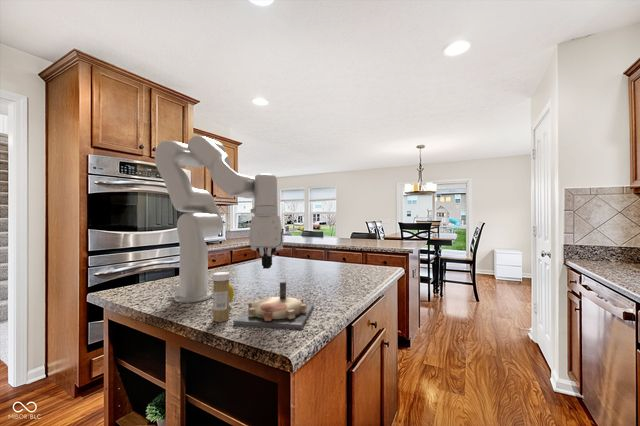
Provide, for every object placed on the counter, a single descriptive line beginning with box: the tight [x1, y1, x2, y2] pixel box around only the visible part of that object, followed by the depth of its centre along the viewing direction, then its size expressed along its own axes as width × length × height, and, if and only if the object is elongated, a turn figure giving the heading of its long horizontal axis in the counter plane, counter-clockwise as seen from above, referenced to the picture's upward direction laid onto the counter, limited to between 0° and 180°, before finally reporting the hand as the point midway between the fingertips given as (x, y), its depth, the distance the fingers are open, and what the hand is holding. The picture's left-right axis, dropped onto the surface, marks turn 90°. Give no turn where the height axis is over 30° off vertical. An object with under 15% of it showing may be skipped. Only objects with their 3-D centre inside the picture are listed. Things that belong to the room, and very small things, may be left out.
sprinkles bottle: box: [212, 271, 231, 323], centre depth 80 cm, size 5×5×13 cm
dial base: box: [232, 302, 315, 330], centre depth 84 cm, size 19×19×1 cm
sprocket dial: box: [247, 281, 306, 321], centre depth 84 cm, size 18×18×7 cm
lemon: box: [229, 283, 235, 304], centre depth 93 cm, size 6×6×8 cm
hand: (267, 267), depth 91 cm, fingers closed
